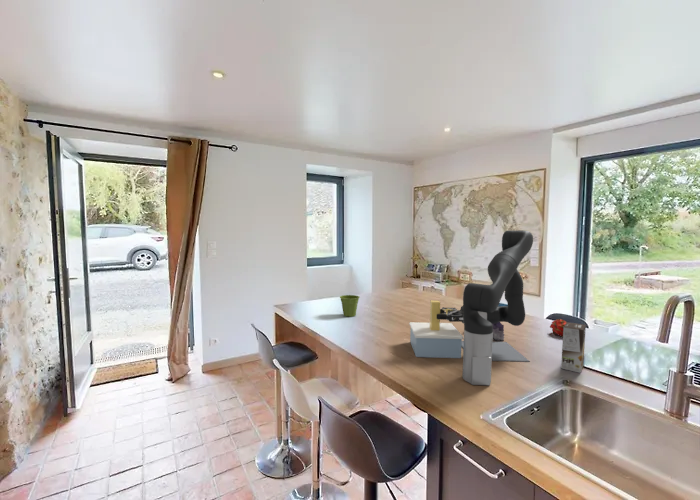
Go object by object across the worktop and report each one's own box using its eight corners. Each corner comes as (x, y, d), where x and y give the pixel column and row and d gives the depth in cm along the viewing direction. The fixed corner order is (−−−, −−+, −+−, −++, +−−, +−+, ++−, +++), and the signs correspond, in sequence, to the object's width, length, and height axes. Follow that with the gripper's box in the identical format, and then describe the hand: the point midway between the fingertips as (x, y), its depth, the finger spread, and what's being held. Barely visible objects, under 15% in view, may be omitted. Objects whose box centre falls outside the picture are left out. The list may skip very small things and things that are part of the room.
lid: (463, 339, 135) (464, 307, 134) (415, 338, 136) (416, 306, 135) (451, 325, 154) (452, 297, 153) (409, 324, 155) (409, 296, 154)
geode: (513, 339, 159) (513, 319, 158) (495, 346, 155) (494, 325, 154) (482, 326, 178) (481, 308, 177) (464, 331, 174) (463, 313, 172)
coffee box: (581, 373, 122) (583, 330, 121) (560, 368, 126) (562, 326, 125) (583, 365, 130) (586, 324, 128) (564, 361, 134) (566, 321, 132)
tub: (461, 358, 136) (461, 338, 135) (416, 356, 137) (416, 337, 136) (449, 342, 154) (450, 325, 153) (410, 341, 155) (410, 324, 154)
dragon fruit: (553, 334, 173) (570, 345, 161) (541, 325, 171) (558, 336, 160) (564, 321, 172) (582, 332, 160) (553, 312, 170) (570, 322, 159)
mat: (529, 361, 133) (529, 360, 133) (472, 360, 134) (472, 359, 134) (506, 342, 155) (506, 341, 155) (457, 341, 156) (457, 340, 156)
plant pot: (363, 314, 202) (363, 296, 201) (352, 319, 192) (352, 299, 191) (346, 312, 208) (346, 293, 207) (335, 316, 198) (335, 297, 197)
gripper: (468, 302, 150) (431, 301, 151) (479, 310, 136) (438, 309, 137) (468, 318, 151) (431, 318, 152) (478, 328, 137) (437, 327, 137)
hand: (434, 313), depth 144 cm, fingers open, 8 cm apart
